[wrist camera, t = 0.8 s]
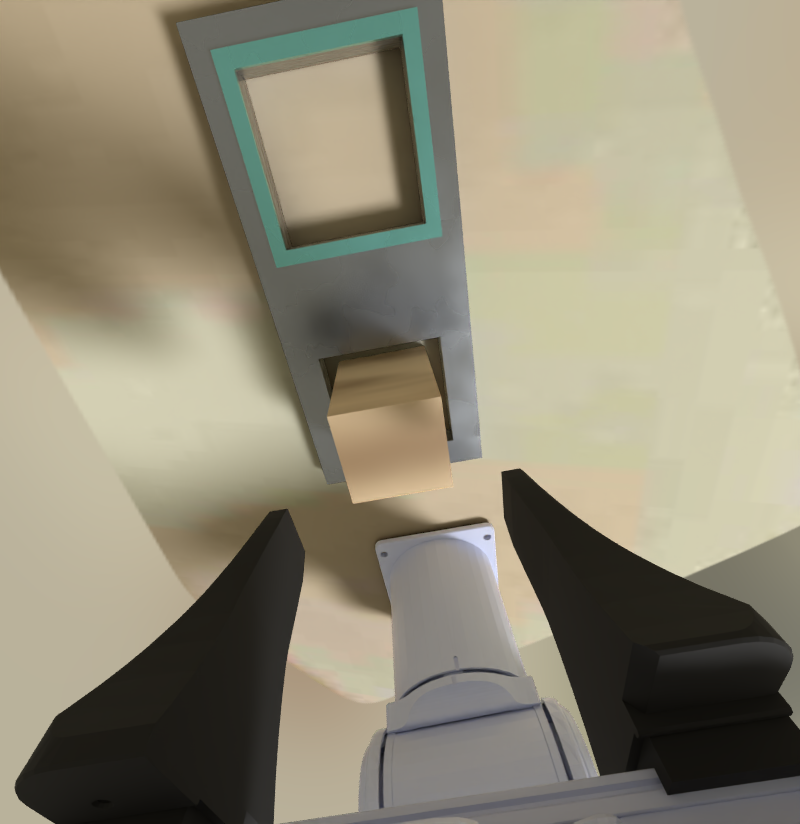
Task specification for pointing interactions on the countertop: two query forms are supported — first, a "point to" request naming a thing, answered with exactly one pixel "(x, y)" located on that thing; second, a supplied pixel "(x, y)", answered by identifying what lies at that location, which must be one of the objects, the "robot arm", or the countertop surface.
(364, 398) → the oak block
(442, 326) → the grey peg insertion board
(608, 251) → the countertop surface
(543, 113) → the countertop surface
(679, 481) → the countertop surface
